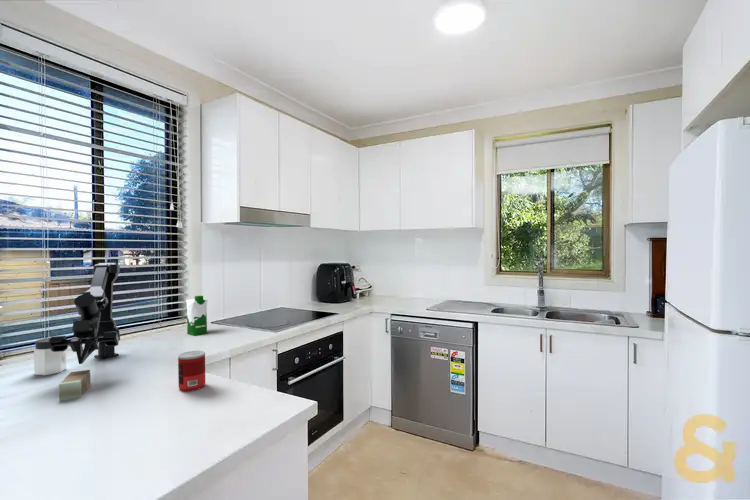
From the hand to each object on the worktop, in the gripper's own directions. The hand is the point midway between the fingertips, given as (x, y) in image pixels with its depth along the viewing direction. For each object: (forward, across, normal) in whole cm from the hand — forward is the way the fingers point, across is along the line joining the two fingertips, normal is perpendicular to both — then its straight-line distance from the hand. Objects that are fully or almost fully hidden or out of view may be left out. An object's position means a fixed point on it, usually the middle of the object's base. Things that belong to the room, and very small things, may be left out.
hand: (80, 363), depth 123 cm
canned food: (+17, +34, -6) cm, 38 cm away
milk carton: (-40, +34, +51) cm, 74 cm away
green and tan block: (+3, 0, +4) cm, 5 cm away
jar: (-10, -14, +22) cm, 28 cm away
